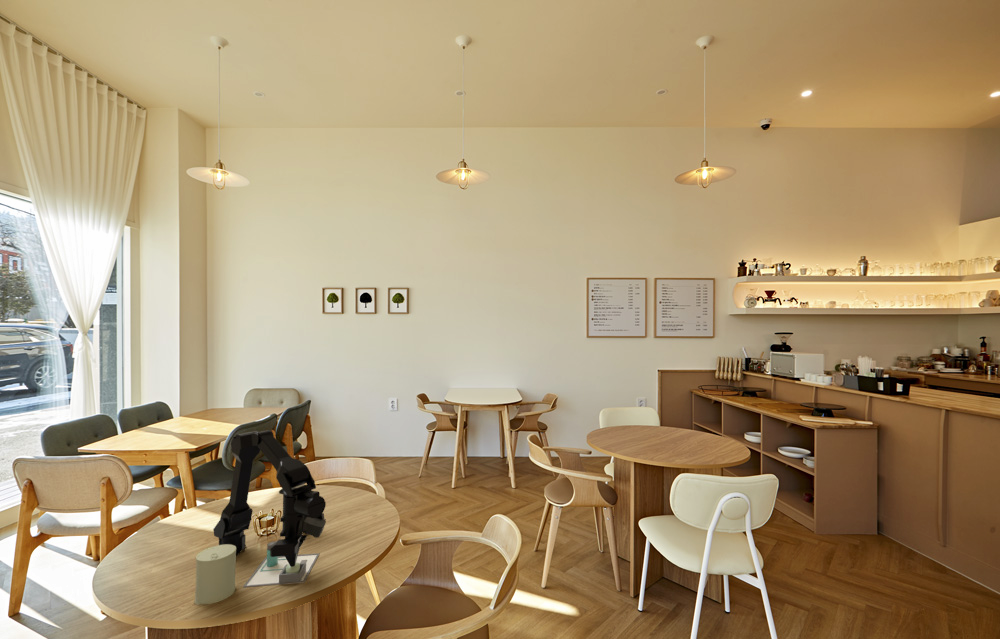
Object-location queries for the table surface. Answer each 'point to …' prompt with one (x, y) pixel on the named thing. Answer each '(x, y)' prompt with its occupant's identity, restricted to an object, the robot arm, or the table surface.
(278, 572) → the activity board
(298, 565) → the key
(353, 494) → the table surface
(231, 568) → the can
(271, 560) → the teal cylinder
